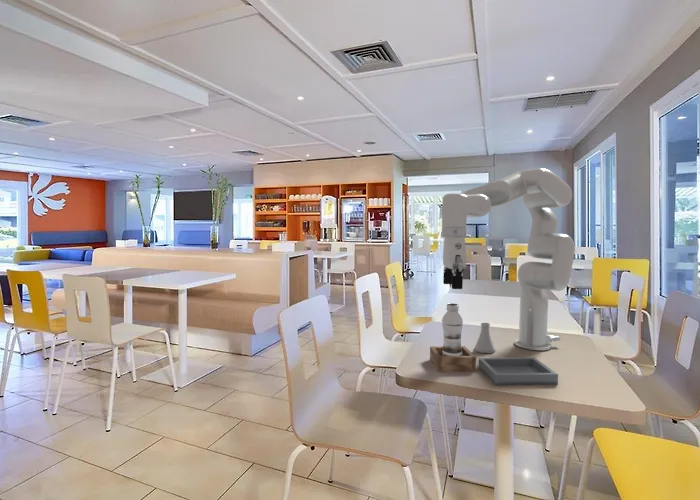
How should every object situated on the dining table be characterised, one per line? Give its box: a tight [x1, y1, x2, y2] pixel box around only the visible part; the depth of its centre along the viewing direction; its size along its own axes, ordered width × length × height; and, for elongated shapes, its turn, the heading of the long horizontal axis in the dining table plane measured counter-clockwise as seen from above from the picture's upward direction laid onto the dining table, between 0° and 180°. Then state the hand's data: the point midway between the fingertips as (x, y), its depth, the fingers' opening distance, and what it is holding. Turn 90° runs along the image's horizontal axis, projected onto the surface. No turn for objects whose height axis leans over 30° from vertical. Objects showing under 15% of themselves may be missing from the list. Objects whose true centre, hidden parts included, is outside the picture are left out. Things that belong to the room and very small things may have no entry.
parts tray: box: [477, 356, 559, 386], centre depth 119 cm, size 18×14×3 cm
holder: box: [429, 345, 477, 373], centre depth 128 cm, size 12×11×4 cm
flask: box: [474, 322, 496, 354], centre depth 142 cm, size 7×7×10 cm
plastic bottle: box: [441, 302, 464, 356], centre depth 127 cm, size 6×7×20 cm
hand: (452, 286), depth 126 cm, fingers open, 9 cm apart
